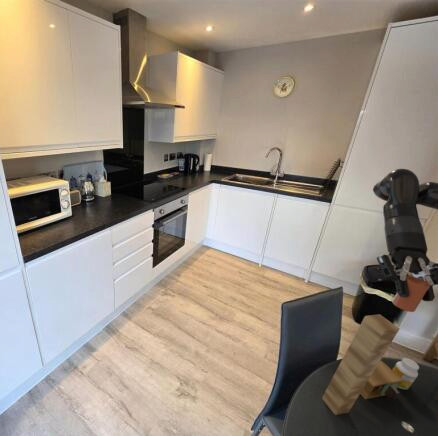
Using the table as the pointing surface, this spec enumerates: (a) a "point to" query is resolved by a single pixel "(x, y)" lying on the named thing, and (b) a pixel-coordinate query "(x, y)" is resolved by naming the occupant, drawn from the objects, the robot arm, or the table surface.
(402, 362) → the supplement bottle
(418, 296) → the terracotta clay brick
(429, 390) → the table surface
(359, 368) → the column
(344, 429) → the table surface
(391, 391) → the green toy piece
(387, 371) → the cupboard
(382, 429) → the table surface
